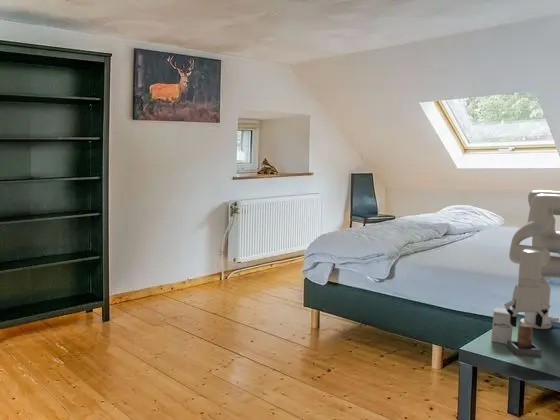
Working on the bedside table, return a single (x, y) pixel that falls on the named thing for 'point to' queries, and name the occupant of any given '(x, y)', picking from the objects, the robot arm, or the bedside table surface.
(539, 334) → the bedside table surface
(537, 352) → the socket
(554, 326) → the bedside table surface
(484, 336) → the bedside table surface
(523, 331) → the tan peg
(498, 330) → the supplement box
